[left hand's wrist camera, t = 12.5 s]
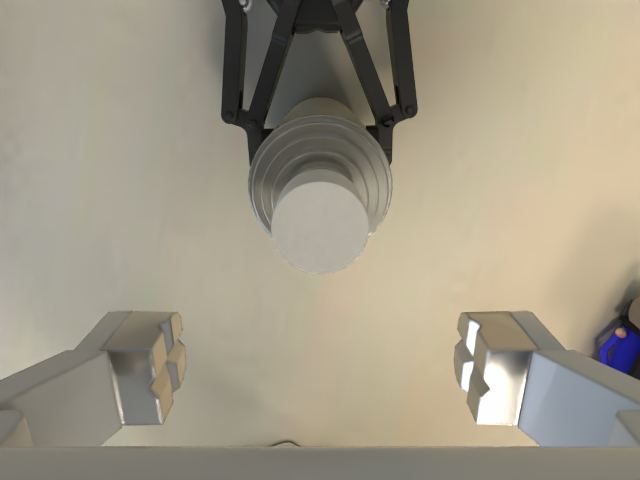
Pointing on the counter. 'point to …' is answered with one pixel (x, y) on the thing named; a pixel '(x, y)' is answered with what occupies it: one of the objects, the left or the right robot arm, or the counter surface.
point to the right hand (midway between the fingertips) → (322, 206)
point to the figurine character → (625, 342)
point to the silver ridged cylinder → (320, 158)
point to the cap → (320, 222)
